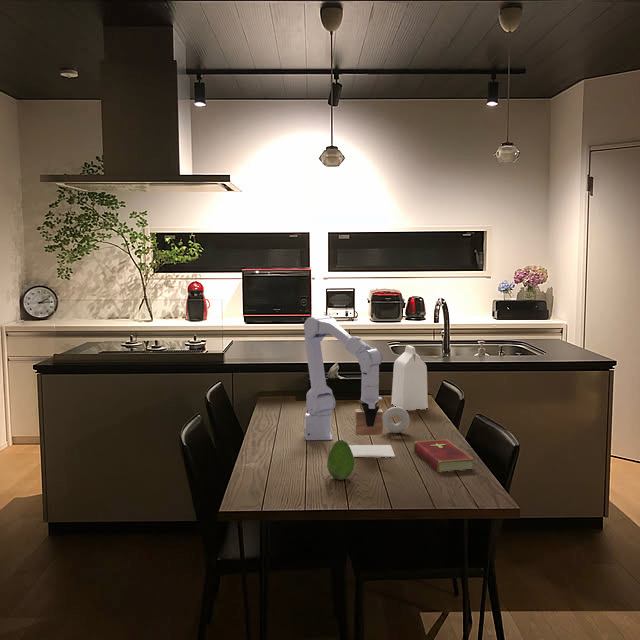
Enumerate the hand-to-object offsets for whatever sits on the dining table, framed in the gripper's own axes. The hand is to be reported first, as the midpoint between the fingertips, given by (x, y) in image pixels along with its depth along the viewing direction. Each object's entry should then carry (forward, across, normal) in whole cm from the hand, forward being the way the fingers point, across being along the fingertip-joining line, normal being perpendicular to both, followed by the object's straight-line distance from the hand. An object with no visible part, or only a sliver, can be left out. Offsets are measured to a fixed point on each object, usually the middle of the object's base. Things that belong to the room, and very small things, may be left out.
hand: (369, 424), depth 227 cm
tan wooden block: (+3, 0, 0) cm, 3 cm away
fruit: (+10, -25, +11) cm, 29 cm away
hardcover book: (+10, -9, -23) cm, 27 cm away
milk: (+10, +61, -23) cm, 66 cm away
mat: (+9, 0, 0) cm, 9 cm away
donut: (+10, +22, -12) cm, 27 cm away
